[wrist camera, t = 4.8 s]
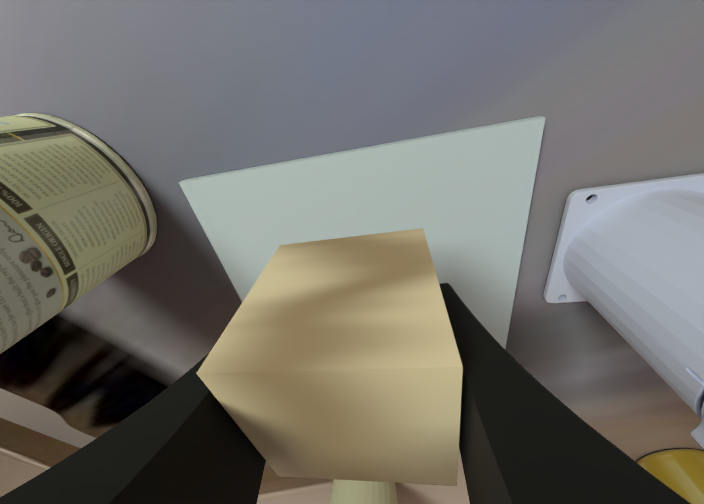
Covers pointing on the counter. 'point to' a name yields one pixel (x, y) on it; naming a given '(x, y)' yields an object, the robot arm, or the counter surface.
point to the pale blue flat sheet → (389, 207)
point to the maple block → (345, 363)
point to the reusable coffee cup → (363, 492)
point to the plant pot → (678, 471)
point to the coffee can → (62, 219)
